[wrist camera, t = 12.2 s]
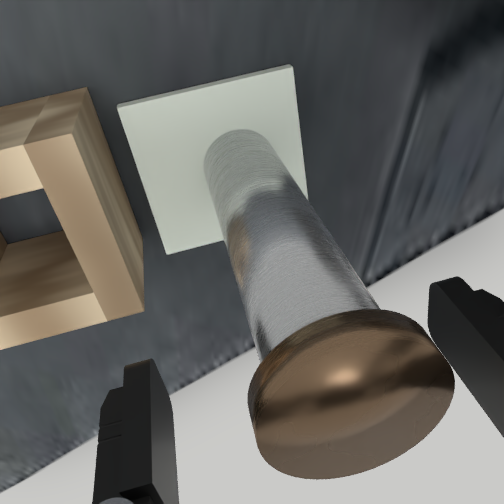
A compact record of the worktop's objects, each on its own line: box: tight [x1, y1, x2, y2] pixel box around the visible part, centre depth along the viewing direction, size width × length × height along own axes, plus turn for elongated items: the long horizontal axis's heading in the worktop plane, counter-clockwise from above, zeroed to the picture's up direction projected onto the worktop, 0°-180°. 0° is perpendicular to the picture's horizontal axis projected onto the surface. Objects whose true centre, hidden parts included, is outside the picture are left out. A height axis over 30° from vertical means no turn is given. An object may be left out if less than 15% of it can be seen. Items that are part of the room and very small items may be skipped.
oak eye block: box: [0, 87, 144, 350], centre depth 20 cm, size 8×8×6 cm
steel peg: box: [204, 129, 455, 479], centre depth 17 cm, size 5×5×15 cm
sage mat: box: [117, 64, 308, 255], centre depth 23 cm, size 8×8×1 cm
